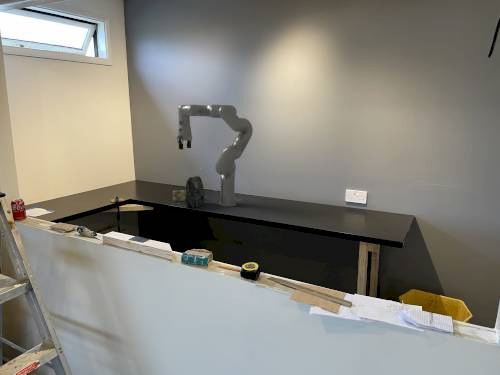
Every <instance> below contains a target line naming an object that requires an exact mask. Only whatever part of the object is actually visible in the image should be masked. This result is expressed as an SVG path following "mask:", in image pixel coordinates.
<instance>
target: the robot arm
mask: <svg viewBox="0 0 500 375" xmlns="http://www.w3.org/2000/svg"><path fill="white" fill-rule="evenodd" d="M177 110H178V112H177V113H178V132H177V133H178V135H177V136H176V140H177V144H178V150H181V151H183V150H184V141H185V142H186V149H191V148H192V140H193V135H192V128H191V117H208V118H209V117H210V118H212V119H222V120H223V122H224V123H225V124H226V125H227V126H228V127H229V128H230V129H231V130H232V131H234V132H235V133H238V134H237V135H236V137H235V139H234V141H233V142H232V144H231V145H228V146H227V147H225V148H224V149H223V151H222V152H221V154H220V156H219V158H218V159H217V161H216V163H215V171H216V173H217V174H218V175H220V200H219V202H218V203H217V204H218V206H220V207H226V208H227V207H235V206H237V205H238V204H237V202H238V203H239V202H240V203H241V202H242V198H236V197H235V191H236V190H235V185H236V184H235V182H236V180H235V179H236V178H235V176H236V170H237V169H236V168H237V165H236V160H238V159H240V158H241V156H242V155H243V153H244V152H245V149H246V148H247V145H248V143H249V142H250V140H251V138H252V136H253V133H254V132H253V130H254V129H253V125H252V123H251V121H250V120H248V119H247V118H245V117H239V116H238V115H237V108H236V107H235V106H234V105H229V104H211V105H209V104H207V105H206V104H179V105H178V109H177Z"/></svg>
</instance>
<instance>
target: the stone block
mask: <svg viewBox="0 0 500 375" xmlns="http://www.w3.org/2000/svg"><path fill="white" fill-rule="evenodd" d="M185 190H186V197H185V201H184V202H185V205H186V206H185V207H186V209H193V208H195V209H196V208H199V207H200V206H202V205H203V204H204V199H205V189H204V184H203V180H202V178H201V176H199V175H194V176H189V177H188V178H187V180H186V183H185Z"/></svg>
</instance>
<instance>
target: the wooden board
mask: <svg viewBox="0 0 500 375" xmlns="http://www.w3.org/2000/svg"><path fill="white" fill-rule="evenodd" d="M185 197H186V189H185V190H183V189H182V190H172V202H182V201H184V202H185Z"/></svg>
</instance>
